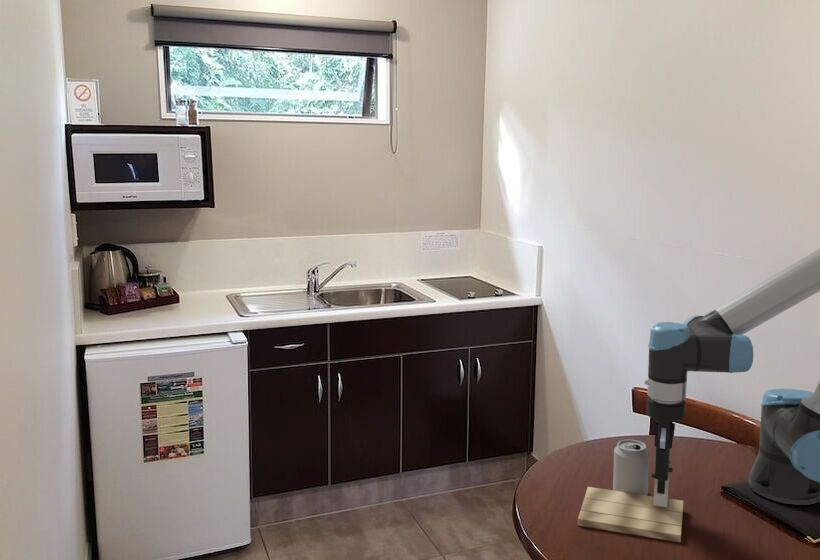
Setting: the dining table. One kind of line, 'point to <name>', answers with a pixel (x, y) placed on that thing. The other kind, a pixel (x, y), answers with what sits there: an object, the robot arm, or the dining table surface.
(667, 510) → the plank
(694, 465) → the dining table surface
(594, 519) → the laid board
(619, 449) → the can
